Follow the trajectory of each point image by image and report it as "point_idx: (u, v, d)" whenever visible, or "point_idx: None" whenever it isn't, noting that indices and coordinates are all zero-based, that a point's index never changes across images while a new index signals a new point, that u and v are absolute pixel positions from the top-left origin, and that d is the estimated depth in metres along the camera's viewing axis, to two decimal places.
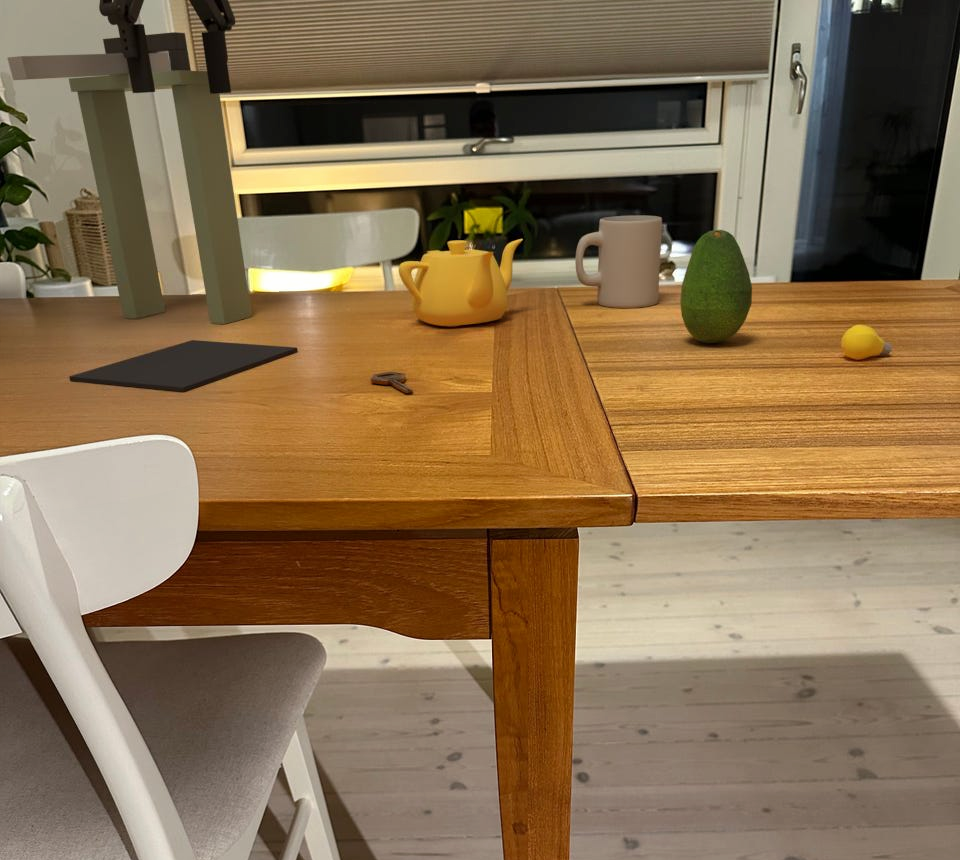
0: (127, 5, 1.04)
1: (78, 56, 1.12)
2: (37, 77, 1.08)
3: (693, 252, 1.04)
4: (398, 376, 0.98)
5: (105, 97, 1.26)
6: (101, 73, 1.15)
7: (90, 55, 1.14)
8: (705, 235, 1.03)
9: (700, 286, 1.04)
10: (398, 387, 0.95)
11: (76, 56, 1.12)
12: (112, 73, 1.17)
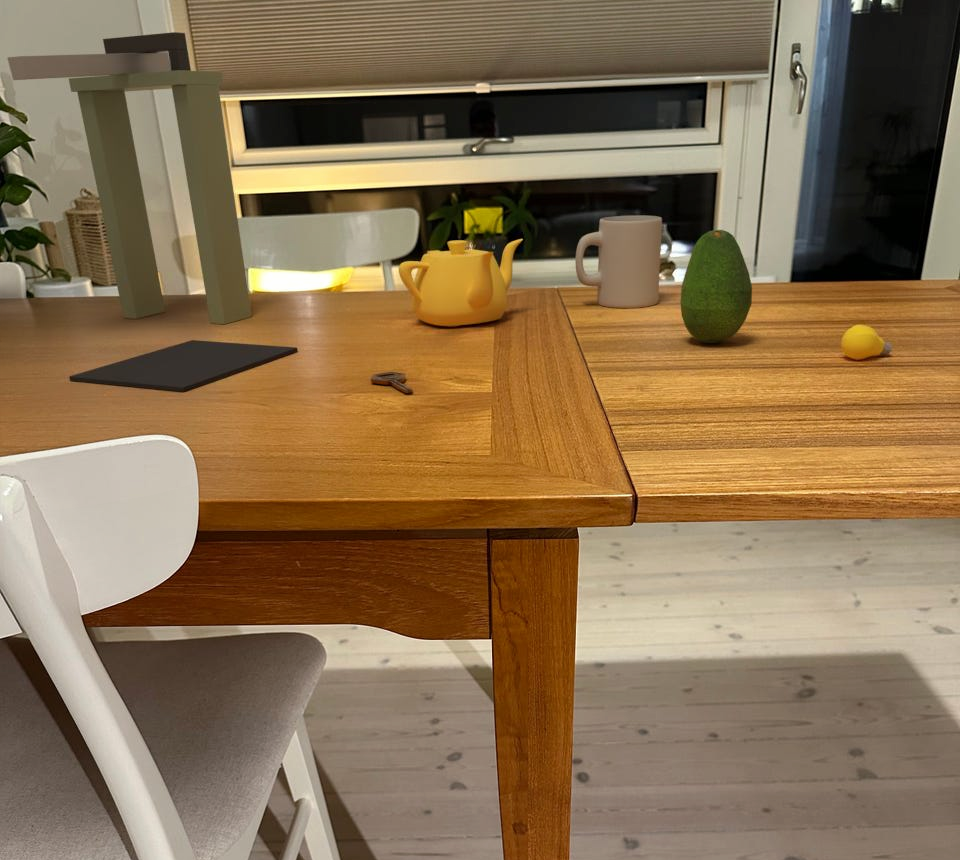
0: None
1: (78, 56, 1.12)
2: (37, 77, 1.08)
3: (693, 252, 1.04)
4: (398, 376, 0.98)
5: (105, 97, 1.26)
6: (101, 73, 1.15)
7: (90, 55, 1.14)
8: (705, 235, 1.03)
9: (700, 286, 1.04)
10: (398, 387, 0.95)
11: (76, 56, 1.12)
12: (112, 73, 1.17)
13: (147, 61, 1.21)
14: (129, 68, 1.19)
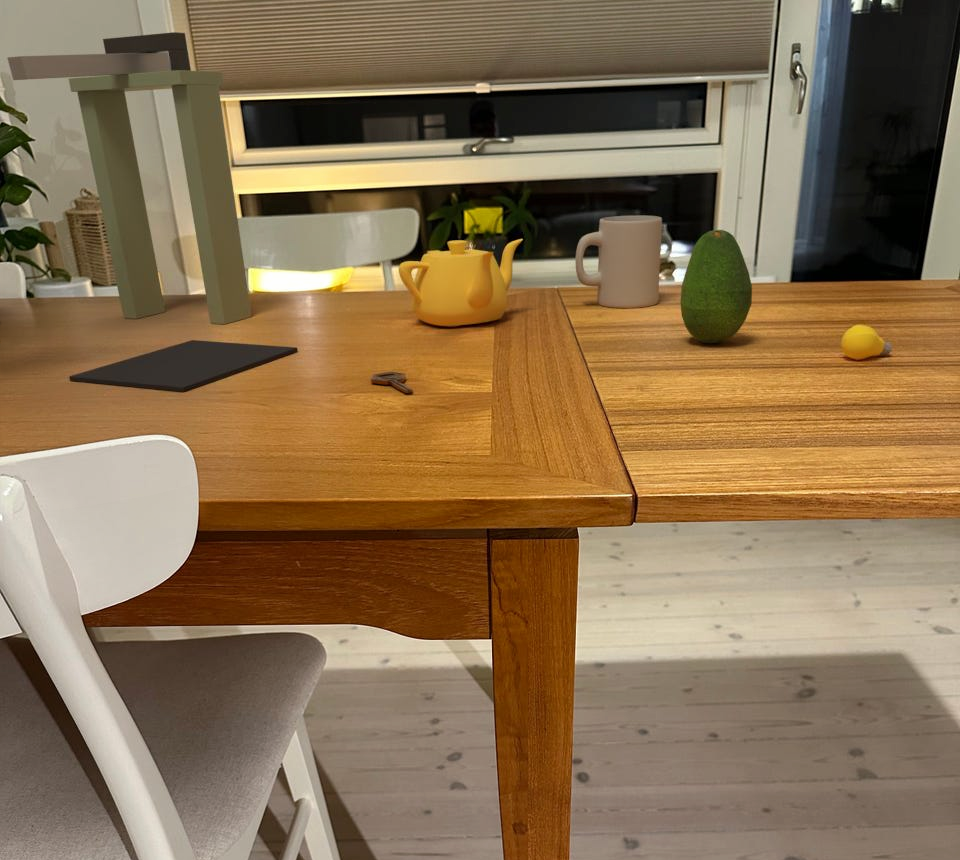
0: None
1: (78, 56, 1.12)
2: (37, 77, 1.08)
3: (693, 252, 1.04)
4: (398, 376, 0.98)
5: (105, 97, 1.26)
6: (101, 73, 1.15)
7: (90, 55, 1.14)
8: (705, 235, 1.03)
9: (700, 286, 1.04)
10: (398, 387, 0.95)
11: (76, 56, 1.12)
12: (112, 73, 1.17)
13: (147, 61, 1.21)
14: (129, 68, 1.19)
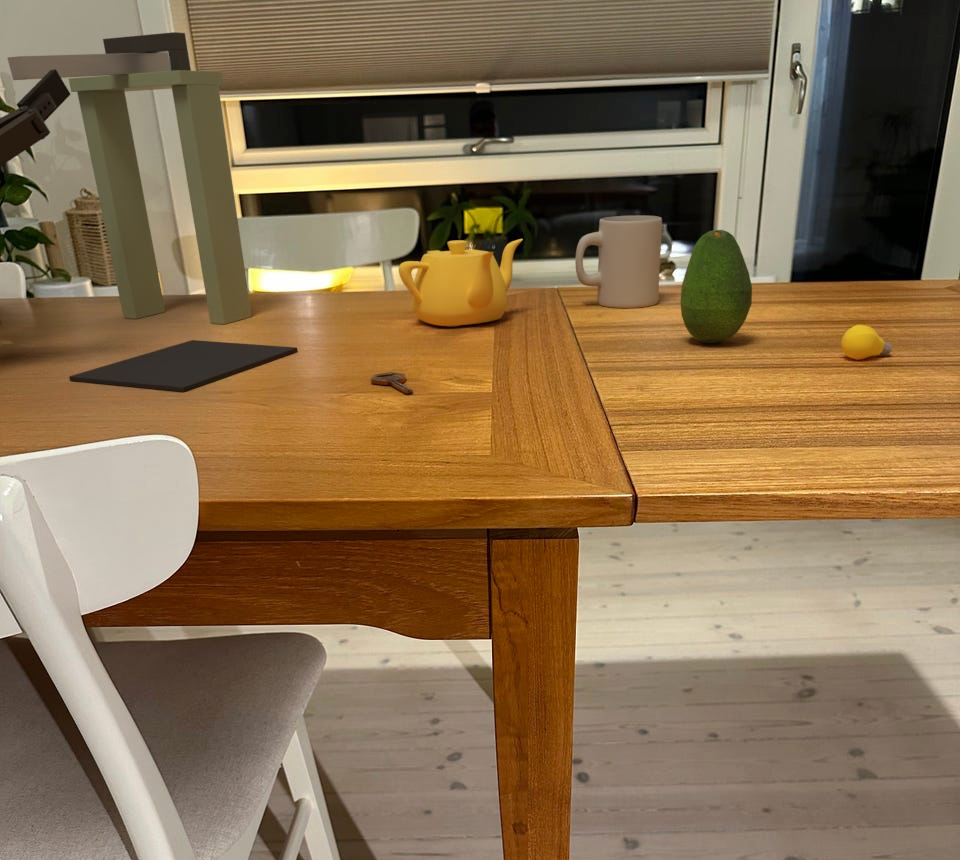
0: None
1: (78, 56, 1.12)
2: (37, 77, 1.08)
3: (693, 252, 1.04)
4: (398, 376, 0.98)
5: (105, 97, 1.26)
6: (101, 73, 1.15)
7: (90, 55, 1.14)
8: (705, 235, 1.03)
9: (700, 286, 1.04)
10: (398, 387, 0.95)
11: (76, 56, 1.12)
12: (112, 73, 1.17)
13: (147, 61, 1.21)
14: (129, 68, 1.19)
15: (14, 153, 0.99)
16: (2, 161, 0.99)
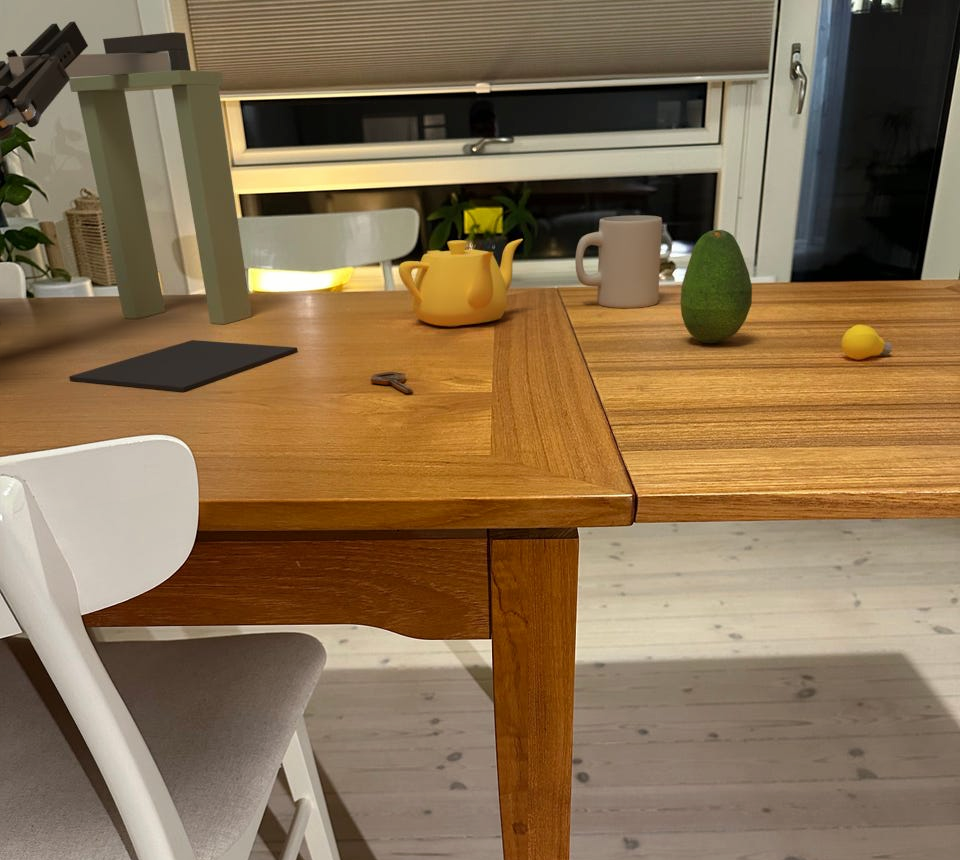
0: None
1: (78, 56, 1.12)
2: None
3: (693, 252, 1.04)
4: (398, 376, 0.98)
5: (105, 97, 1.26)
6: (101, 73, 1.15)
7: (90, 55, 1.14)
8: (705, 235, 1.03)
9: (700, 286, 1.04)
10: (398, 387, 0.95)
11: None
12: (112, 73, 1.17)
13: (147, 61, 1.21)
14: (129, 68, 1.19)
15: (51, 97, 1.05)
16: (45, 105, 1.05)
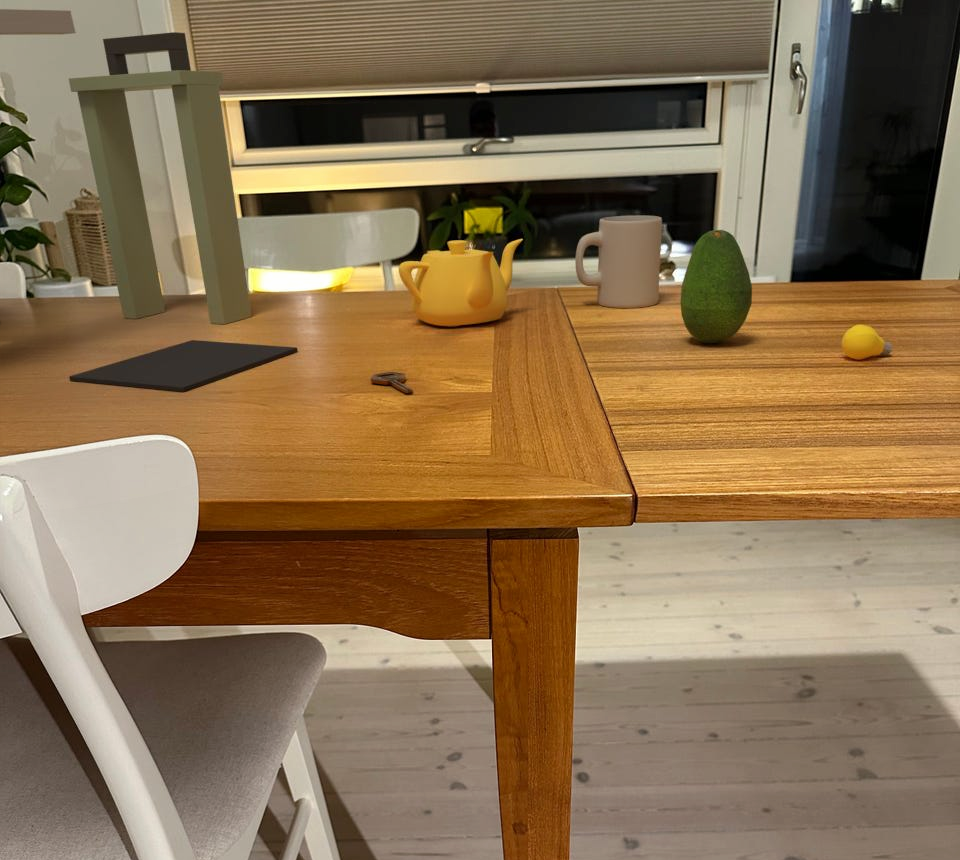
0: None
1: None
2: None
3: (693, 252, 1.04)
4: (398, 376, 0.98)
5: (105, 97, 1.26)
6: None
7: None
8: (705, 235, 1.03)
9: (700, 286, 1.04)
10: (398, 387, 0.95)
11: None
12: (0, 31, 1.03)
13: (44, 19, 1.07)
14: (22, 27, 1.05)
15: None
16: None
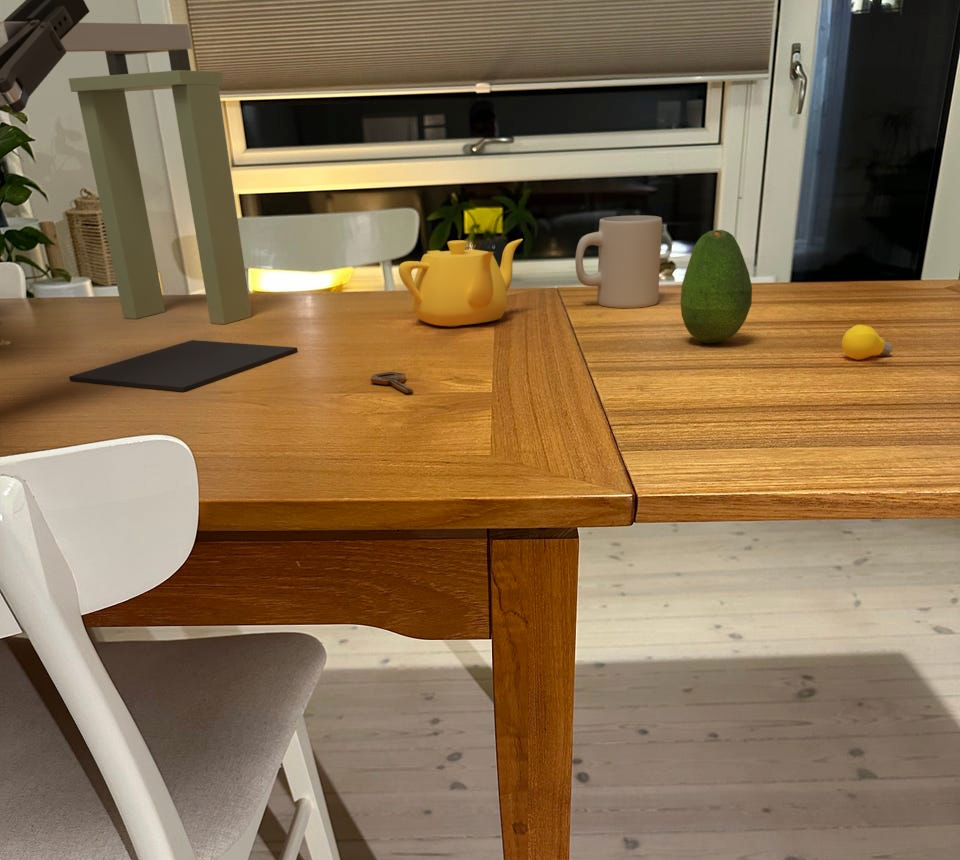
0: None
1: (77, 25, 0.89)
2: None
3: (693, 252, 1.04)
4: (398, 376, 0.98)
5: (105, 97, 1.26)
6: (106, 47, 0.92)
7: (92, 24, 0.90)
8: (705, 235, 1.03)
9: (700, 286, 1.04)
10: (398, 387, 0.95)
11: None
12: (119, 48, 0.94)
13: (162, 34, 0.98)
14: (141, 43, 0.96)
15: (43, 74, 0.82)
16: (34, 84, 0.81)
